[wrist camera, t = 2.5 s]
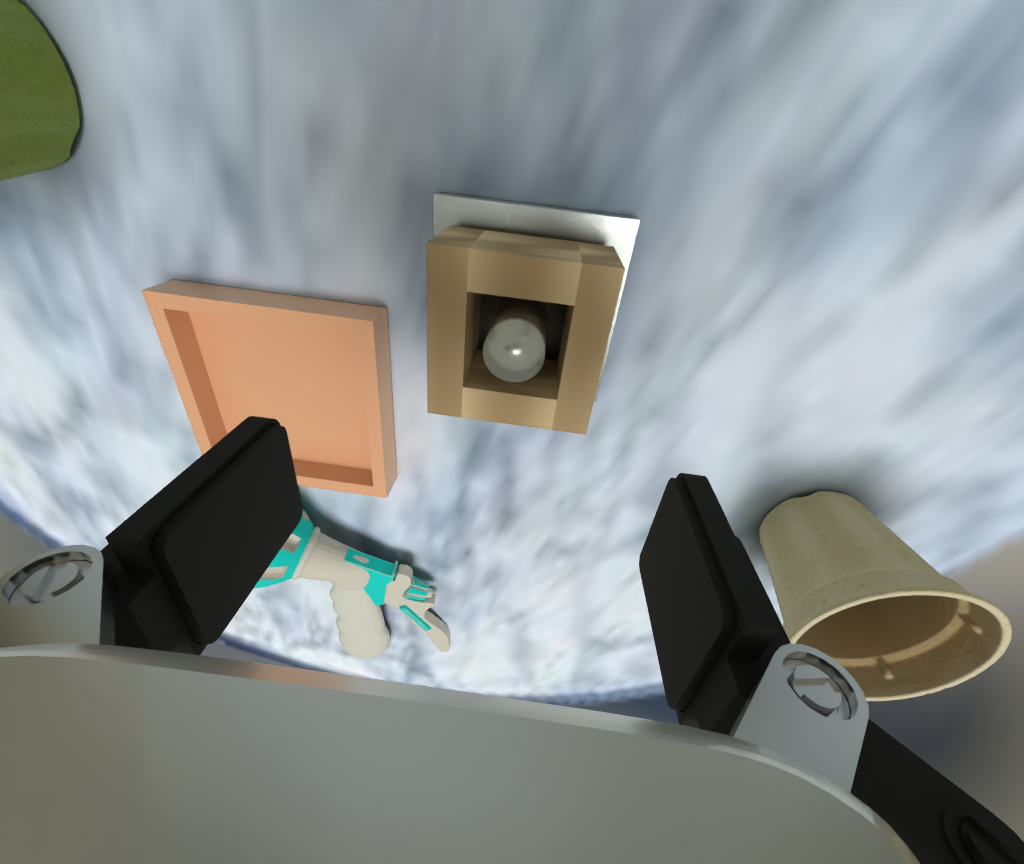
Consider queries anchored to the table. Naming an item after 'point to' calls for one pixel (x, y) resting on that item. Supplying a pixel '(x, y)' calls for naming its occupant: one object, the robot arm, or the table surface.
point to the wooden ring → (525, 275)
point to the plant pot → (32, 96)
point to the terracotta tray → (285, 376)
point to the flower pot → (875, 600)
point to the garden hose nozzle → (357, 589)
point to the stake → (520, 322)
